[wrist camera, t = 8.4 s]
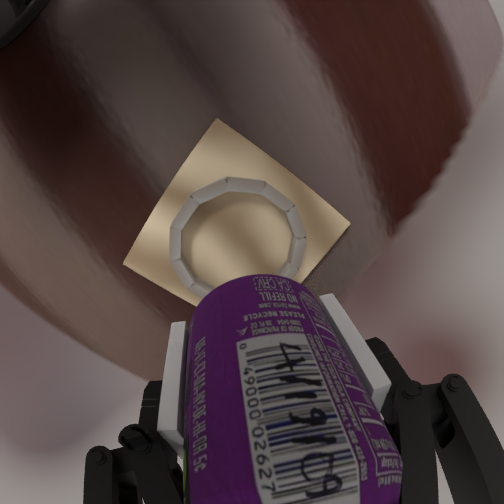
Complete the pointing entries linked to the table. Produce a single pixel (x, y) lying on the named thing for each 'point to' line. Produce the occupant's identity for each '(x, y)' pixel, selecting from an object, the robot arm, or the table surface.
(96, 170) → the table surface
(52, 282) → the table surface
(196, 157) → the ring board
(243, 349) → the beverage can
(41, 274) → the table surface
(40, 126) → the table surface
